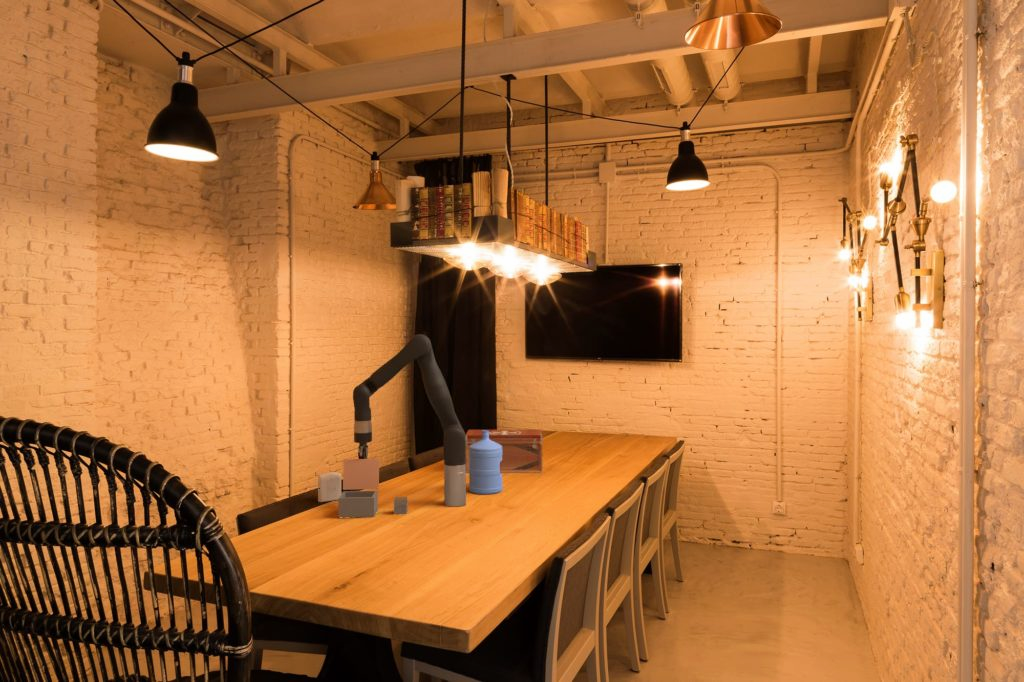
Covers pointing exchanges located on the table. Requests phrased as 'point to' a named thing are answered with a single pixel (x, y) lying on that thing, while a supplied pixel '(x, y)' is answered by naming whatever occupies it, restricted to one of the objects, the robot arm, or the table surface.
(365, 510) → the box
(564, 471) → the table surface
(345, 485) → the lid
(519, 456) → the wooden box
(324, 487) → the photo printer
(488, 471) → the water jug
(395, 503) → the weight
